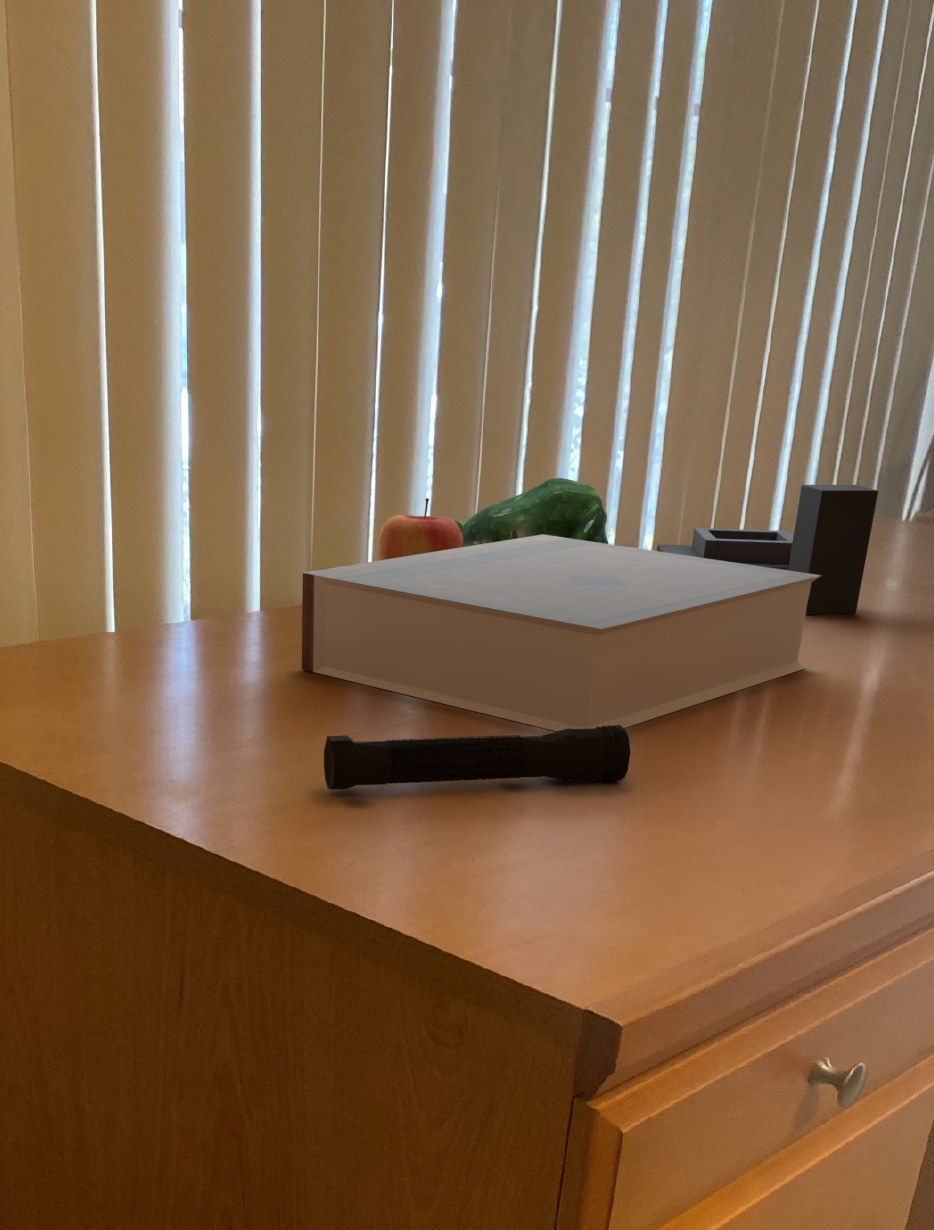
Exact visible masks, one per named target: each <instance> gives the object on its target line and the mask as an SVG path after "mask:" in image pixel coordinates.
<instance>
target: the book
mask: <svg viewBox="0 0 934 1230" xmlns="http://www.w3.org/2000/svg"><path fill="white" fill-rule="evenodd" d="M820 576H822V575H816V574H809V573H802V572H795V571H788V570H782V569H775V568H768V567H761V566H754V565H748V564H741V563H734V562H727V561H720V560H713V559H707V558H700V557H693V556H686V555H679V554H672V553H666V552H659V551H657V550H652V549H644V548H639V547H631V546H625V545H616V544H611V543H609V544H604V543H597V542H591V541H584V540H577V539H570V538H563V537H557V536H550V535H543V534H542V535H536V536H530V537H524V538H517V539H511V540H505V541H499V542H492V543H486V544H480V545H474V546H467V547H461V548H455V549H449V550H442V551H436V552H430V553H424V554H417V555H411V556H405V557H399V558H392V559H386V560H380V559H379V560H374V561H368V562H363V563H356V564H350V565H343V566H337V567H331V568H324V569H317V570H312V571H306V572H302V592H301V593H302V595H301V597H302V600H301V601H302V604H301V607H302V608H301V609H302V611H301V670H304V671H307V672H313V673H316V674H320V675H325V676H329V677H333V678H336V679H341V680H346V681H350V682H354V683H356V684H362V685H364V686H365V685H366V686H369V687H374V688H378V689H382V690H385V691H390V692H394V693H398V694H401V695H407V696H409V697H415V698H419V699H424V700H427V701H431V702H434V703H440V704H443V705H448V706H452V707H455V708H460V709H463V710H468V711H472V712H476V713H480V714H484V715H488V716H492V717H497V718H500V719H506V720H508V721H513V722H518V723H521V724H526V725H529V726H530V725H531V726H534V727H538V728H542V729H546V730H550V731H554V732H557V731H561V730H564V729H568V728H570V729H593V728H596V727H597V726H598V727H602V726H604V725H605V726H608V725H610V726H612V725H621V726H622V727H623V728H624V729H625V728H629V727H631V726H634V725H637V724H640V723H644V722H646V721H650V720H652V719H653V720H654V719H656V718H658V717H659V718H660V717H661V716H664V715H668V714H671V713H674V712H678V711H679V710H680V711H681V710H683V709H686V708H689V707H692V706H695V705H699V704H702V703H705V702H708V701H710V700H713V699H716V698H720V697H722V696H726V695H728V694H732V693H735V692H738V691H741V690H745V689H747V688H750V687H753V686H756V685H759V684H762V683H765V682H769V681H771V680H774V679H778V678H781V677H784V676H786V675H789V674H793V673H795V672H796V673H797V672H799V671H801V670H804V669H806V666H805V665H803V664H802V663H801V662H799V655H800V650H801V649H800V648H801V643H802V638H803V632H804V625H805V619H806V615H807V614H806V608H807V602H808V598H809V594H810V588H811V582H813V581H814V580H816V579H817V578H819V577H820Z"/></svg>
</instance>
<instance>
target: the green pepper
mask: <svg viewBox="0 0 934 1230" xmlns="http://www.w3.org/2000/svg"><path fill="white" fill-rule="evenodd" d="M453 521H454V522H455V523H456V524H457V525H458V526H459V528H460V530H461V533H462V539H463V547H467V546H474V545H480V544H486V543H492V542H499V541H505V540H511V539H517V538H524V537H530V536H536V535H542V534H543V535H550V536H557V537H563V538H570V539H577V540H584V541H591V542H597V543H604V544H610V543H609V541H608V537H607V531H606V526H607V522H608V514H607V509H606V507H605V505H604V503H603V500H602V498H601V496H600V494H599V493H598V492H597V490H596V488H595V487H593V486H592V485H590V484H588V483H587V482H581V481H577V480H574V479H573V480H572V479H570V478H563V477H553V478H549V479H546V480H544V481H542V482H541V483H539V484H537V485H536V486H534V487H532V488H529V489H528V490H526V491H524V492H522V493H520V494H517V495H515V496H513V497H509V498H507V499H504V500H501V501H499V502H496V503H495V502H494V503H491V504H490V505H487V506H485V507H483V508H482V509H481V510H479V511H477V512H476V513H474V514H473V515H472V516H471V517H469V518H468V519H465V520H458V519H456V520H453Z"/></svg>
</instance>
